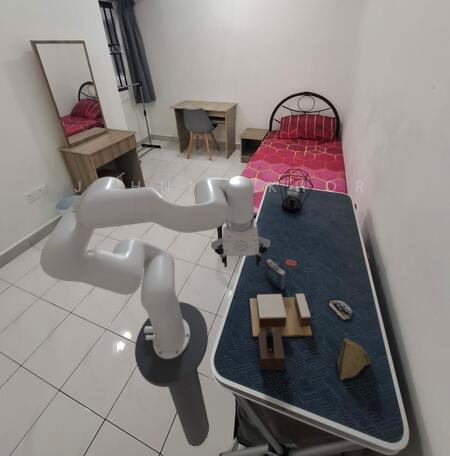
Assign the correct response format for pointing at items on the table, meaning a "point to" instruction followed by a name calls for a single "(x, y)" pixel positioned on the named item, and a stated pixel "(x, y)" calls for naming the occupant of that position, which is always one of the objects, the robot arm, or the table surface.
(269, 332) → the knife
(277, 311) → the cake loaf
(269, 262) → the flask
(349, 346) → the rock
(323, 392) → the table surface
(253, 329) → the board
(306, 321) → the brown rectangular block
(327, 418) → the table surface
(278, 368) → the knife block
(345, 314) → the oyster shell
